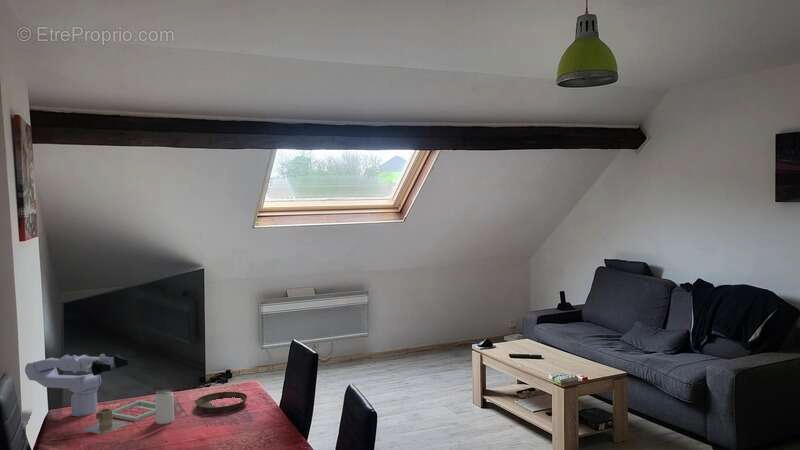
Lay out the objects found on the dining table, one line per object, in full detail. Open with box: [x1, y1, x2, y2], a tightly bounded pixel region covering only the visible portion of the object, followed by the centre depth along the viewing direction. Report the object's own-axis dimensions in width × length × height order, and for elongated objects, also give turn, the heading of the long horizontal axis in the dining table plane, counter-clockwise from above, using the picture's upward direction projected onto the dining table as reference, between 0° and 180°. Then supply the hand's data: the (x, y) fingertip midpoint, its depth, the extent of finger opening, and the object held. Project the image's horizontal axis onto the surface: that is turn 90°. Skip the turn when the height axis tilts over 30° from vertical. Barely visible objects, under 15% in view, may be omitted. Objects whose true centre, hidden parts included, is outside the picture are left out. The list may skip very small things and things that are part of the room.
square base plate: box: [80, 419, 132, 436], centre depth 221 cm, size 12×12×6 cm
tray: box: [112, 399, 156, 422], centre depth 237 cm, size 16×16×2 cm
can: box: [154, 388, 175, 426], centre depth 226 cm, size 6×6×12 cm
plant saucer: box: [194, 391, 248, 413], centre depth 244 cm, size 21×21×3 cm
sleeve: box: [95, 407, 114, 429], centre depth 221 cm, size 4×6×6 cm
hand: (118, 365), depth 229 cm, fingers open, 7 cm apart
